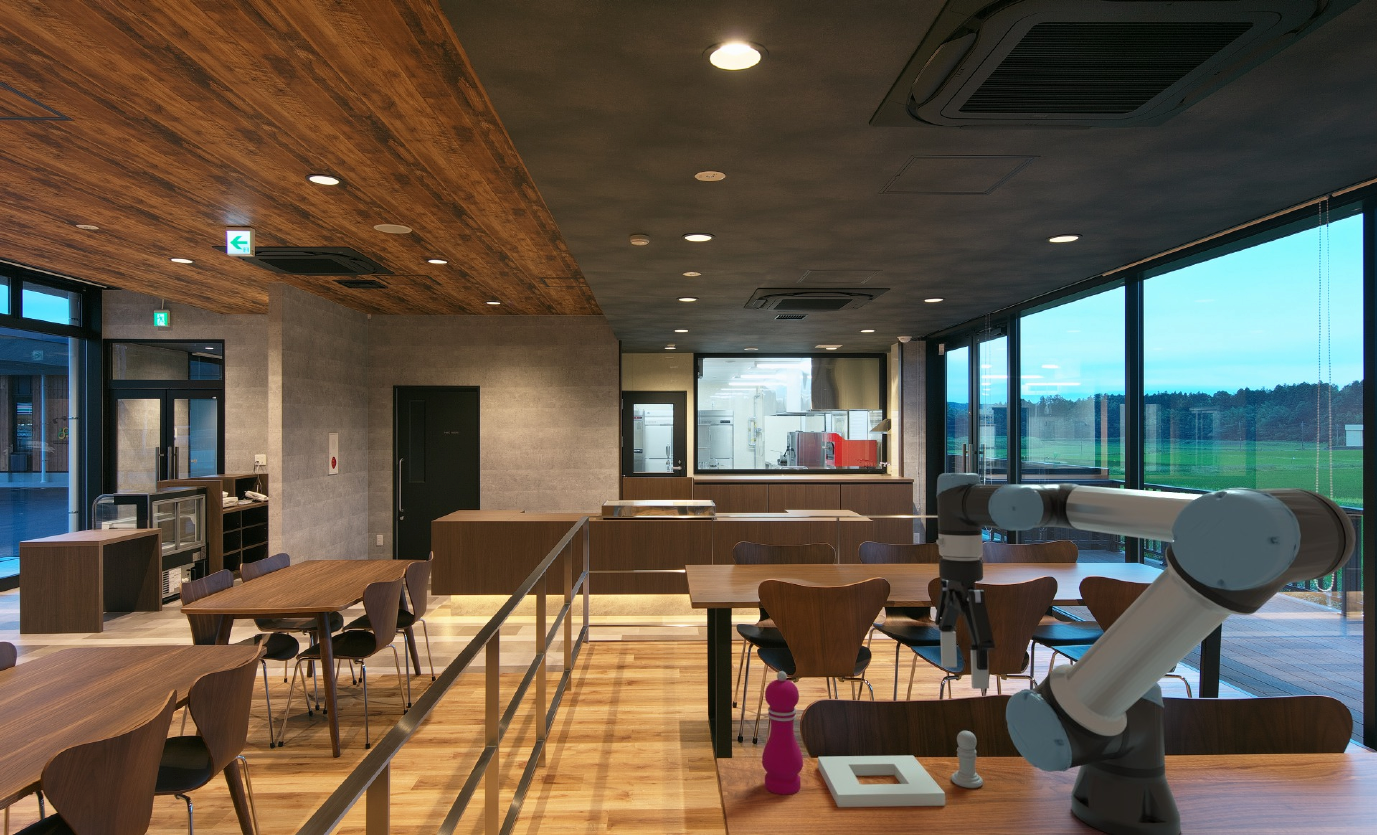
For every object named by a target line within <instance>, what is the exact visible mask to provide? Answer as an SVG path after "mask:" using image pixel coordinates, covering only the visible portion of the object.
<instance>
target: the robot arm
mask: <svg viewBox="0 0 1377 835" xmlns="http://www.w3.org/2000/svg"><path fill="white" fill-rule="evenodd" d="M936 499H937V500H936V506H937V529H938V530H937V531H938V534H937V535H938V539H936V540H935V541H936V545H938V553H939V555H940V556H942V557H940V558H939V559H938V571H939V572H938V576H939V578H940V581H939V584H940V586H939V588H940V589H939V594H938V595H939V596H938V602H937V608H936V614H935V618H934V624H935V626H938V630H939V631H940V662H941V663H940V666H941V668H957V667H958V660H957V659H958V658H957V632H956V631H957V630H958V629H957V625H956V623H957V621H958V618H959V616H962V617H963V619H964V624H965V627H966V629H967V632H968V636H969V639H970V641H971V645H970V646H969V648H968V649H969V651H970V670H971V672H970V674H971V676H970V678H971V689H974V690H975V689H979V690H980V689H981V690H982V689H986V690H987V689H990V675H989V674H990V673H989V672H990V671H989V650H992V649H995V648H996V645H995V640H994V637H993V632H992V626H991V623H990V618H989V614H988V610H987V606H986V595H985V594H986V593H985V591H984V589H976V586H975V583H976V582H981V581H983V579H984V563H983V561H982V559H981V557H983V555H984V554H983V553H984V550H983V549H984V547H983V544H984V543H983V530H982V529H983V527H984V528H992V529H999V530H1007V531H1010V532H1013V531H1029V530H1032V529H1033V528H1047V527H1050V528H1052V527H1053V528H1055V527H1056V528H1063V529H1064V528H1065V529H1071V530H1082V531H1089V532H1097V533H1103V534H1110V535H1119V536H1125V537H1131V538H1138V539H1139V538H1140V539H1146V540H1153V541H1160V542H1167V543H1170V544H1169V545H1168V546H1167V547H1166V549H1165V550H1164V551H1165V552H1164V555H1165V561H1166V563H1167V566H1166V568H1165V569H1163V571H1162V572H1161V573H1160V574H1159V575H1158V576H1157V577H1156V578H1155V579H1154V580H1153V581H1152V582H1151V583H1150V585H1148V587H1146V589H1145V590H1143V592H1142V593H1141V594H1140V595H1139V596H1138V597H1136V599H1135V600H1134V602H1132V603H1131V605H1130V606H1128V608H1126V609H1125V611H1124V612H1123V613H1122V614H1121V615H1120V616H1119V617H1118V618H1117V619H1116V620H1115V621H1114V622H1113V623H1112V624H1111V625H1110V626H1109V627H1108V628H1107V630H1105V631H1104V633H1102V635H1101V636H1100V637H1099V638H1098V639H1097V640H1096V641H1095V642H1094V643H1093V644H1092V645H1091V646H1090V647H1089V648H1088V650H1087V651H1086V652H1084V654H1083V655H1081V656H1080V658H1079V659H1077V661H1075V663H1074V664H1065V663H1064V664H1061V665H1058V666H1056V667H1055V668H1054V669H1052V670H1051V671H1050V673H1049V674H1048V675H1047V676H1046V677H1044V679H1043V680H1042V681H1041V682H1040V683H1039V684H1038V685H1037V686H1035V687H1033V688H1031V689H1029V688H1024V689H1021V690H1019V691H1017V692H1016V693H1013V695H1012V696H1010V698H1009V700H1008V701H1007V705H1006V708H1005V709H1006V710H1005V720H1006V722H1007V727H1006V728H1007V729H1008V734H1009V735H1010V739H1011V741H1012V743H1013V745H1014V747H1015V748H1016V750H1017V751H1018V752H1019V754H1020V755H1021V756H1022V757H1023V759H1024V760H1025V761H1027V763H1029V764H1030V766H1033V767H1034V768H1037V769H1039V770H1041V771H1042V772H1050V773H1051V772H1053V773H1054V772H1066V771H1068V770H1069V769H1072V768H1077V767H1079V770H1078V773H1077V776H1076V779H1075V782H1074V785H1073V787H1072V789H1071V790H1072V791H1071V793H1070V794H1071V796H1070V797H1071V798H1070V799H1071V802H1070V803H1071V810H1072V813H1073V814H1074V815H1075V816H1076V817H1077V818H1078V819H1079V820H1080V821H1081V822H1083V823H1084V824H1086V825H1088V826H1090V827H1092V828H1094V829H1096V830H1099V831H1100V832H1104V833H1106V834H1110V835H1180V834H1181V830H1182V829H1181V828H1182V827H1181V814H1180V811H1179V809H1178V806H1177V803H1176V800H1175V798H1174V795H1173V793H1172V790H1171V787H1170V785H1169V783H1168V780H1167V779H1168V778H1167V776H1166V766H1165V765H1166V759H1165V758H1166V757H1165V755H1166V754H1165V728H1164V727H1165V726H1164V725H1165V724H1164V708H1165V704H1164V702H1163V694H1162V687H1161V686H1160V685H1159V683H1158V682H1159V681H1160V680H1162V679H1163V678H1164V677H1165V676H1166V675H1167V674H1168V673H1169V672H1170V671H1171V670H1173V668H1174V667H1175V666H1177V665H1178V664H1179V663H1180V662H1181V661H1183V659H1184V658H1185V657H1186V656H1188V654H1189V653H1191V652H1192V651H1193V650H1194V649H1195V648H1196V647H1197V646H1199V644H1201V642H1203V641H1204V640H1205V639H1206V638H1207V637H1208V636H1210V634H1212V633H1213V632H1214V631H1215V630H1216V629H1217V628H1218V627H1219V626H1220V625H1221V624H1223V622H1224V621H1225V620H1226V619H1228V618H1229V617H1230V616H1231V615H1238V616H1239V615H1241V616H1250V615H1253V614H1255V613H1256V612H1257V611H1258V610H1260V609H1261V608H1262V607H1263V606H1264V605H1265V604H1266V603H1267V602H1268V601H1269V600H1271V599H1272V598H1273V597H1274V596H1275V595H1276V594H1277V593H1279V592H1280V591H1281V590H1282V589H1283V588H1285V586H1287V585H1289V584H1290V583H1291V584H1292V583H1299V582H1300V583H1301V582H1307V581H1314V580H1319V579H1322V578H1326V577H1327V576H1328V577H1329V576H1330V575H1332V574H1335V573H1336V572H1337V571H1339V570H1341V569H1342V568H1343V567H1344V566H1345V565H1346V563H1347V562H1349V560H1350V558H1351V557H1352V555H1353V552H1354V550H1355V544H1356V540H1357V538H1356V531H1355V528H1354V525H1353V522H1352V520H1351V519H1350V517H1349V516H1348V514H1347V513H1346V511H1345V510H1344V509H1343V508H1342V507H1341V506H1340V505H1339V504H1338V503H1336V502H1335V501H1334V500H1332V499H1330V498H1329V497H1328V496H1325V495H1323V494H1320V493H1318V492H1316V491H1312V490H1307V489H1303V488H1294V487H1289V488H1287V487H1285V488H1284V487H1283V488H1263V489H1262V488H1261V489H1254V488H1249V487H1248V488H1247V487H1232V488H1231V487H1230V488H1224V489H1220V490H1218V491H1217V490H1216V491H1213V492H1208V493H1205V494H1197V493H1196V494H1195V493H1194V494H1193V493H1183V492H1182V493H1181V492H1169V491H1156V490H1155V491H1153V490H1144V489H1143V490H1141V489H1128V488H1118V487H1117V488H1116V487H1104V486H1103V487H1101V486H1090V485H1079V484H1076V483H1071V482H1070V483H1069V482H1068V483H1067V482H1057V483H1043V484H1039V483H1038V484H1037V483H1035V484H1029V483H1026V484H1025V483H1023V484H1019V483H1018V484H1017V483H1016V484H1015V483H1014V484H1012V483H1009V484H1008V483H1007V484H982V482H981V477H980V475H979V474H978V473H975V472H950V473H949V472H947V473H946V472H944V473H941V474H939V475H938V477H937V484H936Z"/></svg>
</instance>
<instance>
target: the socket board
mask: <svg viewBox="0 0 1377 835" xmlns="http://www.w3.org/2000/svg"><path fill="white" fill-rule="evenodd" d="M817 768H818V771H819V772H820V774H821V776H822V778H823V780H824V783H825V784H826V786H827V788H828V790H829V791H830V792H829V793H830V794H831V796H832V798H833V799H834V800H833V801H834V802H835V804H836V806H837V807H838V808H864V807H865V808H866V807H867V808H868V807H869V808H870V807H872V808H875V807H928V806H929V807H933V806H939V807H940V806H944V807H945V806H946V793H945V791H944V790H943V789H942V788H941V787H940V785H938V783H937V782H936V781H935V779H933V777H932V776H931V775H930V774H929V772H928V771H927V769H925V767H923V765H922V764H921V763H920V762H919V761H918V760H917V758H916V757H915V756H914V755H852V756H850V755H849V756H848V755H847V756H846V755H845V756H843V755H842V756H839V755H838V756H834V755H833V756H818V757H817ZM857 776H862V777H863V776H894V777H895V778H896V780H898V782H899V783H896V784H895V783H882V784H881V783H880V784H872V783H871V784H868V783H867V784H861V783H860V782H859V779H858V777H857Z"/></svg>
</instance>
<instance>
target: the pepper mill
mask: <svg viewBox="0 0 1377 835" xmlns="http://www.w3.org/2000/svg"><path fill="white" fill-rule="evenodd" d="M787 678H788V676H787V673H786V672H785V671H783V670H781V671H779V672H778V673H777V674H776V679H775V680H773V681H770V682H769V684H768V685H767V686H766V688H765V691H764V692H765V693H764V697H765V701H766V703H767V704H768V705H769V707H768V708H767V711H768V713H767V717H769V720H770V732H769V736H768V740H767V742H766V744H765V747H764V749H763V752H762V757H761V764H762V767H763V769H764V771H765V772H766V773H765V775H764V787H765V790H767V791H769V792H771V793H773V794H777V795H791V794H792V795H793V794H796V793H798V792H799V791H800V789H801V776H800V775H799V773H800V772H801V771H802V770H803V767H804V758H803V754H802V751H801V749H800V746H799V743H798V742H797V739H796V736H795V733H794V724H795V723H794V722H795V719H797V709H796V707H795V706H797V704H798V703H799V700H800V694H799V693H800V692H799V690H798V687H797V686H796V685H795V683H793V682H792V681H791V680H788V679H787Z"/></svg>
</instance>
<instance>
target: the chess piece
mask: <svg viewBox="0 0 1377 835" xmlns="http://www.w3.org/2000/svg"><path fill="white" fill-rule="evenodd" d="M956 741H957V742H956V743H957V745H958V747H956V748H957V749H956V752H957V753H956V756H957V758H958V766H959V767H958V770H957V771H955V772H954V773H952V774H951V776H950V779H951V781H952V782H953V783H954V784H955V785H956V786H959V787H962V788H966V789H967V788H968V789H977V788H980V787H981V786H983V783H984V780H983V778H982V777H981V776H980V775H979V774H978V773H977V772H976V760H977V759H978V758H977V757H978V756H977V750H976V746H977V742H978V741H977V738H976V735H975V734H974V733H973V732H971V731H970V730H969V731H968V730H962V731H960V732H959V733H958V734H957V736H956Z"/></svg>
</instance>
